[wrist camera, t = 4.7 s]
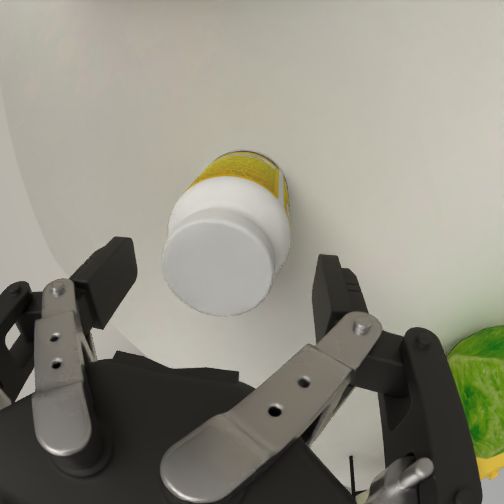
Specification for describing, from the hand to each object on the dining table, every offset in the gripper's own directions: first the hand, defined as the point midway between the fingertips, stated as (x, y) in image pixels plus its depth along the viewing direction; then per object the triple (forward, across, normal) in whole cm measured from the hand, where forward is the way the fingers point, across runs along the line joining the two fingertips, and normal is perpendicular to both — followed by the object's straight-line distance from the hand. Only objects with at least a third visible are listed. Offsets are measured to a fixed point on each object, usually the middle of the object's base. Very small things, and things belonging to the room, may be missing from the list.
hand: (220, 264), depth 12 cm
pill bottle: (+11, 0, 0) cm, 11 cm away
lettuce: (+11, -30, +16) cm, 36 cm away
